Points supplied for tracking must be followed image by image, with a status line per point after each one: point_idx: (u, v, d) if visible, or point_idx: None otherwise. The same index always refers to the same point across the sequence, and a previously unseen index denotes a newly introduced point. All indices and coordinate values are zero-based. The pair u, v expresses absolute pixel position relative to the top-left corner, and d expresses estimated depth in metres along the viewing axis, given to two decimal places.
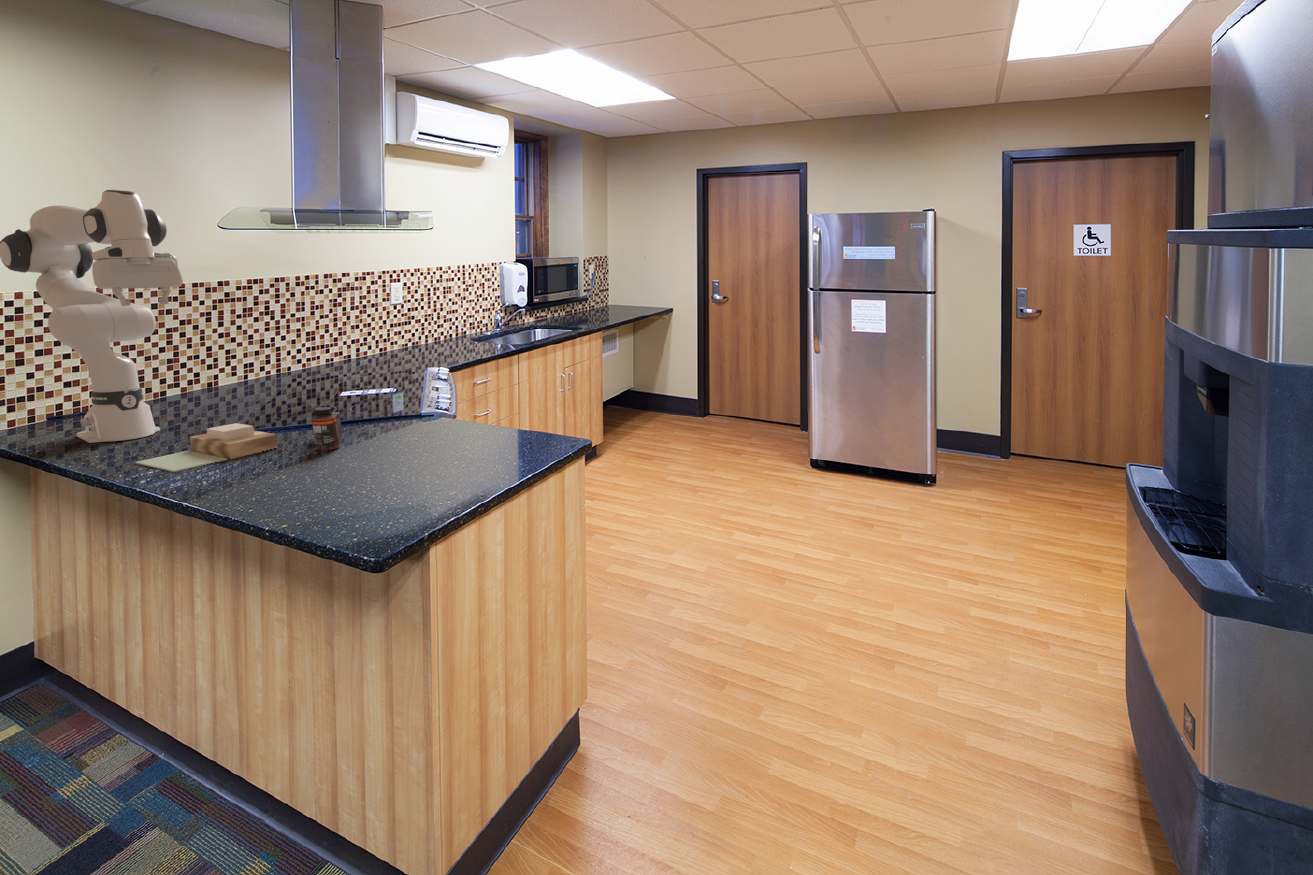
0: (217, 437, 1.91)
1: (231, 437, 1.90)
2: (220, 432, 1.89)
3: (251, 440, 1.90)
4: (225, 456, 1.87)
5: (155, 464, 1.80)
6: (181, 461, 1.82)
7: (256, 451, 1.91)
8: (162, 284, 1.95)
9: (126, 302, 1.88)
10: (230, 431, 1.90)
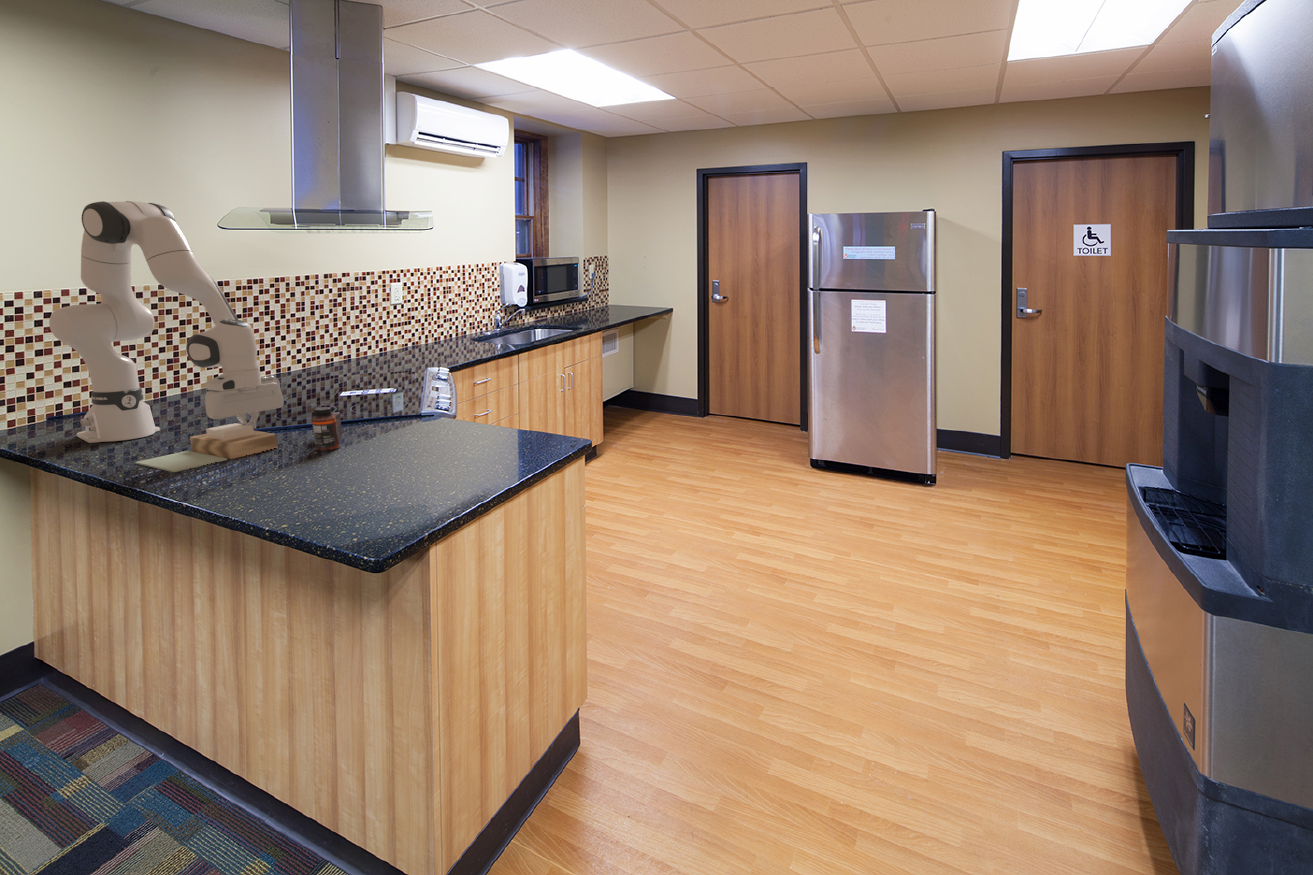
0: (216, 437, 1.90)
1: (231, 437, 1.90)
2: (220, 432, 1.89)
3: (251, 440, 1.90)
4: (225, 456, 1.87)
5: (155, 464, 1.80)
6: (181, 461, 1.82)
7: (256, 451, 1.91)
8: (266, 408, 2.00)
9: None
10: (230, 431, 1.90)
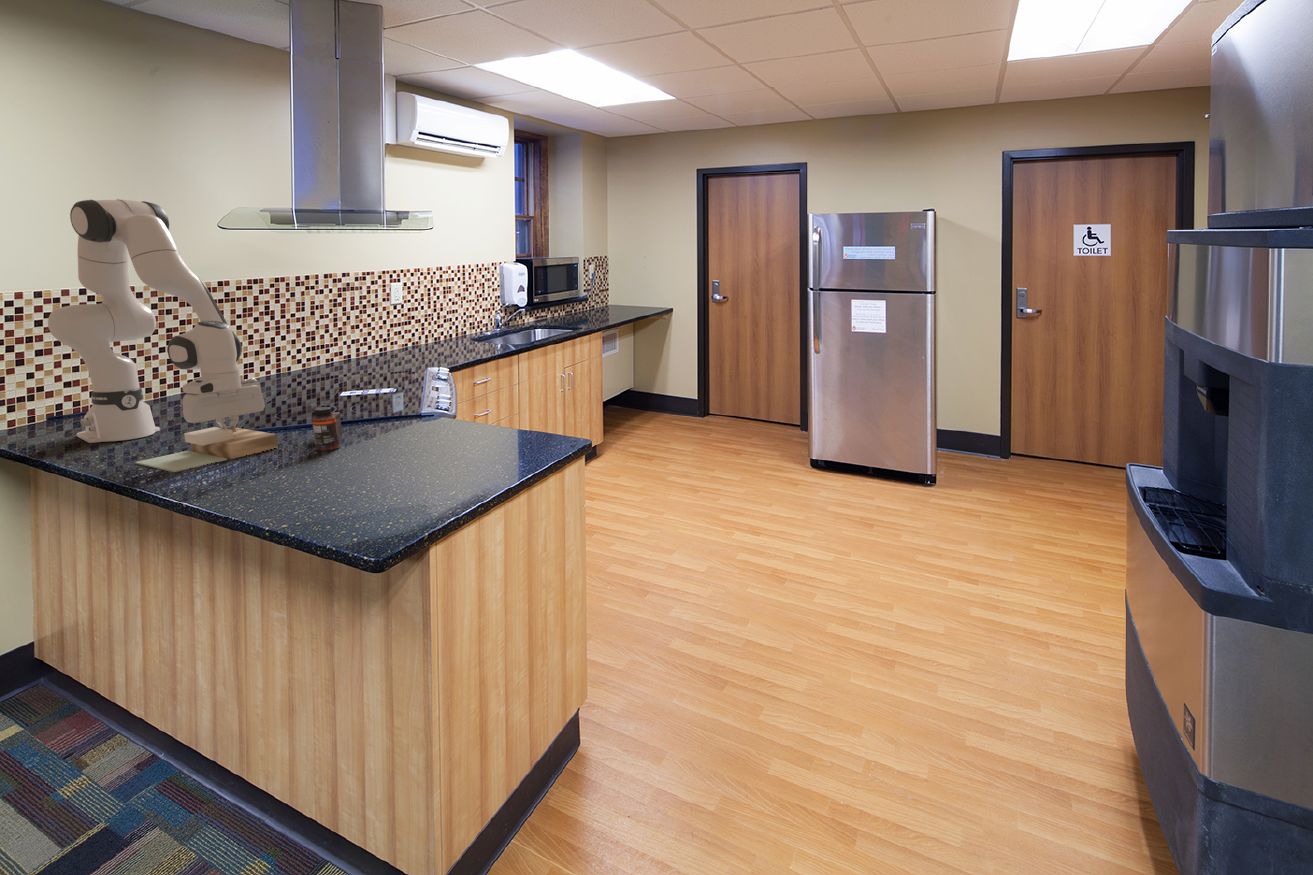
0: (195, 442, 1.86)
1: (209, 442, 1.85)
2: (198, 437, 1.84)
3: (251, 440, 1.90)
4: (225, 456, 1.87)
5: (155, 464, 1.80)
6: (181, 461, 1.82)
7: (256, 451, 1.91)
8: (246, 411, 1.96)
9: None
10: (208, 436, 1.85)
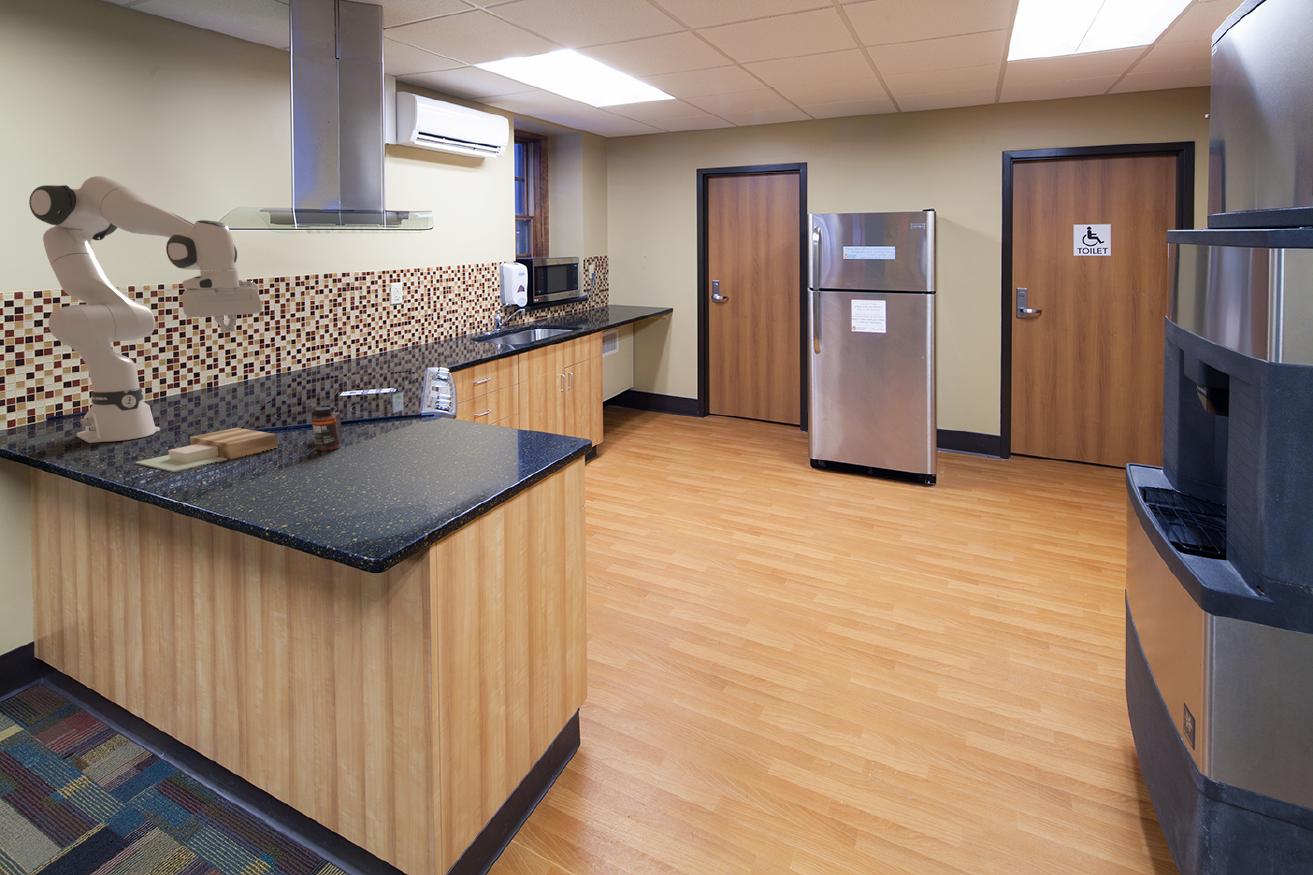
0: (179, 459, 1.83)
1: (193, 459, 1.82)
2: (182, 454, 1.81)
3: (251, 440, 1.90)
4: (225, 456, 1.87)
5: (155, 464, 1.80)
6: None
7: (256, 451, 1.91)
8: (244, 312, 2.02)
9: (226, 329, 1.99)
10: (192, 453, 1.82)
